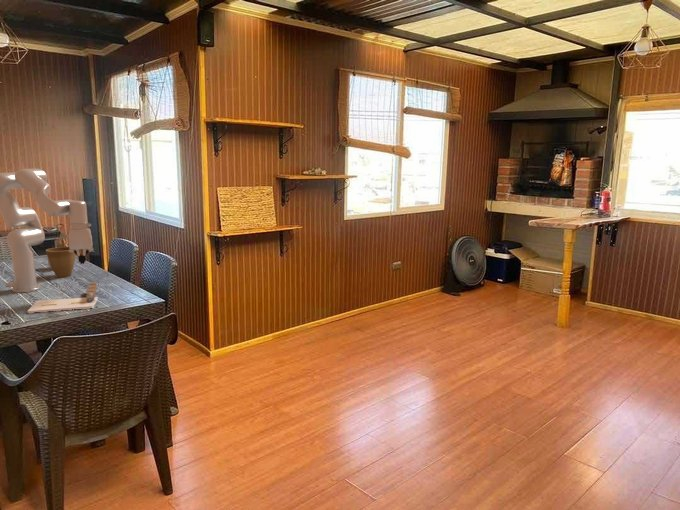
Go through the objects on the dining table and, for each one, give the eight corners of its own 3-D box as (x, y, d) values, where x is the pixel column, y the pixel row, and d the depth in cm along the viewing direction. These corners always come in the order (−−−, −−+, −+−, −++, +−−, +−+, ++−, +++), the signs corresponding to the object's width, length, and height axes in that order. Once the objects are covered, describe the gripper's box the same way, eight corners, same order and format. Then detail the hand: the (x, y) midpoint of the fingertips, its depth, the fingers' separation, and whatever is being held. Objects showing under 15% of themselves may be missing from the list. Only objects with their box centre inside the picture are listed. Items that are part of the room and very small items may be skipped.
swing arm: (93, 300, 231) (93, 293, 231) (86, 301, 230) (85, 294, 229) (96, 288, 253) (96, 281, 252) (90, 288, 252) (89, 282, 251)
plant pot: (83, 273, 290) (81, 246, 287) (67, 279, 276) (64, 251, 272) (59, 272, 292) (57, 246, 288) (42, 278, 277) (39, 250, 274)
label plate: (27, 313, 217) (27, 310, 217) (37, 303, 232) (36, 300, 232) (92, 308, 225) (92, 305, 225) (97, 299, 240) (97, 296, 240)
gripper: (96, 224, 245) (99, 260, 248) (62, 225, 239) (66, 262, 243) (96, 227, 238) (98, 264, 242) (60, 228, 232) (64, 266, 236)
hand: (82, 263), depth 242 cm, fingers closed
